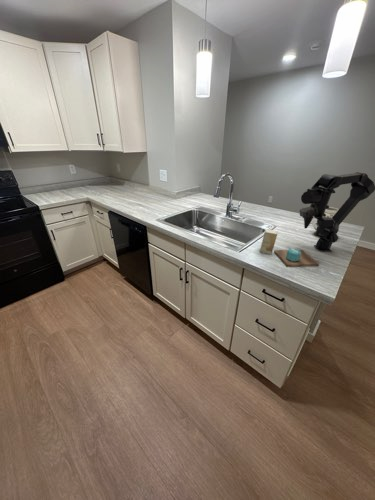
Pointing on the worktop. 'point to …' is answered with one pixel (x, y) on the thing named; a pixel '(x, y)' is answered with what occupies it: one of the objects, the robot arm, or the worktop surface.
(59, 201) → the worktop surface
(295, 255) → the cap
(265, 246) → the skincare box
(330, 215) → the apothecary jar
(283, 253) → the walnut board
